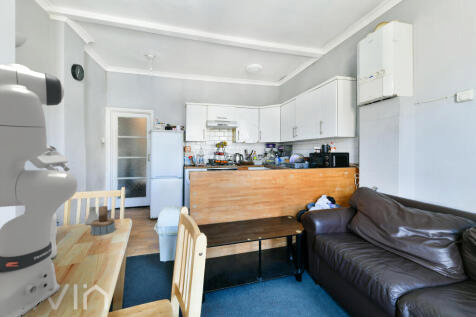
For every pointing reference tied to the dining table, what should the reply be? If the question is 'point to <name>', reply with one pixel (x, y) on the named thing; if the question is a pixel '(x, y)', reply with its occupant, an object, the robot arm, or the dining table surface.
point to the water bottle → (53, 235)
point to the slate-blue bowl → (102, 229)
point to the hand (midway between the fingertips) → (63, 171)
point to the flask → (91, 216)
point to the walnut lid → (102, 218)
